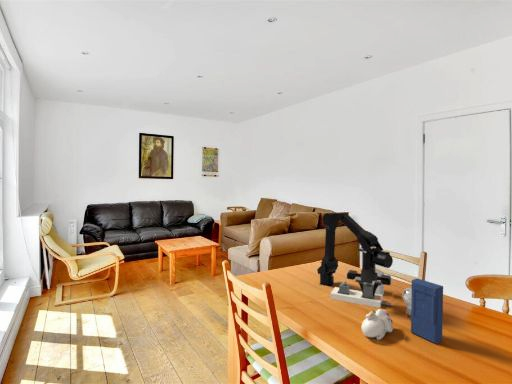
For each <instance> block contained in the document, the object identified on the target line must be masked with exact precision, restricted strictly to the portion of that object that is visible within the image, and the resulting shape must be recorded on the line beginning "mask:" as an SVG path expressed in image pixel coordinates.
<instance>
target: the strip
mask: <svg viewBox="0 0 512 384" xmlns="http://www.w3.org/2000/svg"><path fill="white" fill-rule="evenodd" d="M330 300H335V301H339V302H340V301H341V302H346V303H352V304H355V305H357V304H358V305H362V306H367V307H371V308H378V309H382V305H383V306H390V307H392V302H386V301H383V295H380V294H375V295H374V298H373V299H367V298H363V293H362V290H357V289H350V291H349V295H345V294H339V286H338V287H337V286H335V287H333V289H332V291H331V292H330Z"/></svg>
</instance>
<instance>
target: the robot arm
mask: <svg viewBox="0 0 512 384" xmlns="http://www.w3.org/2000/svg"><path fill="white" fill-rule="evenodd" d="M340 222H341V223H342V224H343V225H344V226H345V227H346V228H347V229H348V230H349V231H350V232H351V233H352V234H353V235H354V236H355V237H356V241H357V243H358V244H359V245H360V246H361V247H360V248H358V249H357V250H358V251H359V252H361V253H362V254H361V258H362V261H361V262H362V263H361V267H362V268H361V270H360V273H359V272H358V270H354V269H353V270H352V269H349V270H348V271H347V274H346V279H348V280H351V281H352V280H353V281H354V280H355V282H357V283H358V284H359V287H360V291H362V293H363V286H364V282H365V283H369V284H371V283H372V282H373V281H375V283H374V289H373V297H374V295H375V292H376V289H377V287H378V286H379V285H381V284H384V286H391V285H392V276H391V275H389V274H388V275H387V274H384V275H383V274H382V276H381V277H380V276H378V275H377V273H375V269H376V266H379V267H382V268H386V269H390V268H391V266H393V262H394V259H393V256H392V255H391V253H390V251H384V249H383V247H382V245H381V243H380V242H379V239H378V237H377V235H375V234H374V233H372V232H370V231H368V230H366V229H364V228H363V227H362V226H361V224H359V223H358V222H357V221H355V220H354V219H353V218H352V216H350V214H349V213H348V212H345V211H343V212H335V211H334V212H326V213H324V214H323V215H322V224H323V226H324V228H325V241H324V243H325V244H324V256H323V258H322V259H321V263H320V266H318V268H317V269H316V271H317V274H318V275H319V285H320V286H327V287H332V286H333V285H334V284H335V277H334V274H335V273H336V272H337V271H336V270H338V268H339V260H338V259H337V258H336V257H335V246H336V230H337V227H338V226H339V224H340Z"/></svg>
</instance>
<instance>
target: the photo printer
mask: <svg viewBox="0 0 512 384" xmlns="http://www.w3.org/2000/svg"><path fill="white" fill-rule="evenodd" d="M375 273H377V275H378V276H380V277H381V276H382V274H383V275H385V274H384V271H382V270H380V269H377V268H375ZM374 283H375V281H373V282H372V283H371V284H373V285H374ZM364 284H365V282H364ZM375 294H380V295H382V296H383V295H385V285H384V284H381V285H379V286H378V287H377V289H376V292H375Z"/></svg>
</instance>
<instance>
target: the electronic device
mask: <svg viewBox="0 0 512 384" xmlns="http://www.w3.org/2000/svg"><path fill="white" fill-rule="evenodd" d="M411 289H412V297H411V316H410V332H411V333H412V334H415V335H416V336H418V337H421V338H423V339H425V340H427V341H429V342H431V343H434V344H436V345H438V344H439V343H441V342H443V324H444V323H443V319H444V318H443V317H444V315H443V314H444V309H443V308H444V286H443V285H440V284H438V283H435V282H431V281H427V280H424V279H420V278H414V279H412V280H411Z"/></svg>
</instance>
